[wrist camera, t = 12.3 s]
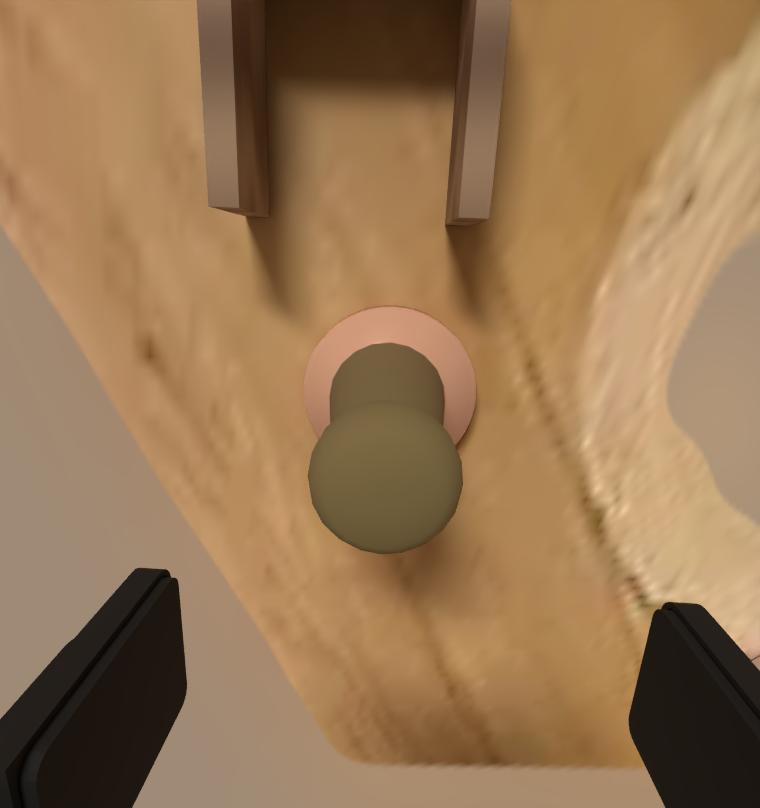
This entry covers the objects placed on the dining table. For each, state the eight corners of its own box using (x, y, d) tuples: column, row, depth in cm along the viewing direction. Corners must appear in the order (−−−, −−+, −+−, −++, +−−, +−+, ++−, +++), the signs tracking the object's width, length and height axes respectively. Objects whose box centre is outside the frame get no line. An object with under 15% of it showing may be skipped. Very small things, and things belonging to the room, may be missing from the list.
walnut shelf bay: (469, 225, 24) (489, 218, 19) (245, 216, 24) (208, 206, 19) (495, -57, 20) (526, -152, 16) (234, -68, 21) (187, -165, 16)
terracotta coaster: (465, 470, 28) (467, 477, 27) (306, 462, 28) (303, 470, 27) (481, 309, 25) (485, 311, 24) (306, 301, 25) (303, 303, 24)
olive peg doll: (456, 438, 26) (501, 562, 15) (347, 464, 27) (319, 601, 16) (430, 329, 24) (460, 384, 14) (314, 359, 25) (259, 434, 14)
